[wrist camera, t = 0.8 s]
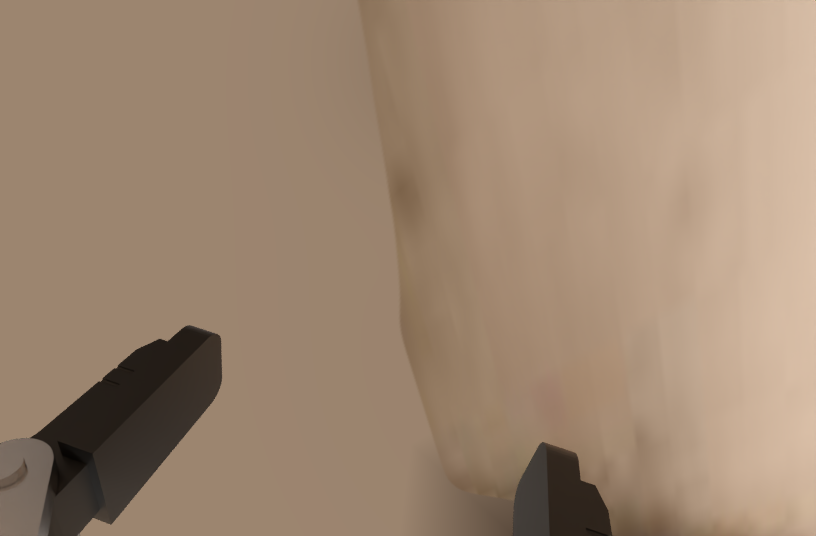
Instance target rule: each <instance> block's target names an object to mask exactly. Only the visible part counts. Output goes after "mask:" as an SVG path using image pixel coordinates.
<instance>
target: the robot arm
mask: <svg viewBox="0 0 816 536" xmlns="http://www.w3.org/2000/svg"><path fill="white" fill-rule="evenodd" d="M221 362H222V360H221V338H220V336H219V335H218V334H215V333H212V332H209V331H206V330H203V329H200V328H197V327H194V326H190V325H189V326H186V327H184V328H183V329H181V330H180V331H179V332H178V333H177V334H176V335H174V336H173V337H172V338H171V339H170V340H169V341H165V340H162V339H158V340H156V341H154V342H152V343H150V344H148V345H145V346H143V347H141V348H139V349H137V350H135V351H134V352H133V353H132V354H131V355H130V356H128V357H127V358H126V359H125V360H124V361H123V362H121V363H120V364H119V365H118V367H117V368H116V369H113V370H112V371H111V372H109V373H108V374H107V375H106V376H105V377H104V378H103V380H102V381H101V382H98V383H96V384H95V385H94V386H93V387H92V388H90V389H89V390H88V391H87V392H86V393H85V394H83V395H82V396H81V397H80V398H79V399H77V400H76V401H75V402H74V403H73V404H72V405H70V406H69V407H68V408H67V409H66V410H65V411H63V412H62V413H61V414H60V415H59V416H57V417H56V418H55V419H54V420H53V421H51V422H50V423H49V424H48V425H47V426H46V427H44V428H43V429H42V430H41V431H40V432H38V433H37V434H36V435H34V436H32V437H31V438H21V439H13V440H9V441H5V442H2V443H0V536H80V532H81V531H82V530H83V529H84V527H85V526H86V525H87V524H88V523H89V522H90V521H91V519H92V518H96V519H98V520H101V521H103V522H106V523H108V524H112V523H113V522H114V521H115V519H116V518H117V517H118V516H119V515H120V513H121V512H122V511H123V510H124V508H125V507H126V506H127V505H128V504H129V503H130V501H131V500H132V499H133V498H134V496H135V495H136V494H137V493H138V491H139V490H140V489H141V488H142V487H143V486H144V484H145V483H146V482H147V481H148V479H149V478H150V477H151V476H152V475H153V473H154V472H155V471H156V470H157V469H158V467H159V466H160V465H161V464H162V463H163V461H164V460H165V459H166V458H167V456H168V455H169V454H170V452H172V450H173V449H174V448H175V447H176V446H177V444H178V443H179V442H180V441H181V439H182V438H183V437H184V436H185V435H186V433H187V432H188V431H189V430H190V429H191V427H192V426H193V425H194V423H195V422H196V421H197V420H198V419H199V418H200V416H201V415H202V414H203V413H204V412H205V410H206V409H207V408H208V407H209V406H210V404H211V403H212V402H213V400H214V399H215V397H216V395H217V393H218V391H219V389H220V385H221V381H222V364H221ZM513 513H514V514H513V536H612V532H611V526H610V519H609V513H608V509H607V507H606V506H605V504H604V502H603V500H602V498H601V496H600V494H599V492H598V490H597V488H596V486H595V485H592V484H589V483H586V482H583V481H581V480H580V470H579V461H578V457H577V455H576V453H574V452H571V451H568V450H565V449H562V448H559V447H556V446H553V445H550V444H547V443H544V442H542V443H541V444H540V445H539V446H538V448H537V450H536V452H535V454H534V456H533V457H532V459H531V461H530V463H529V465H528V467H527V468H526V470H525V472H524V474H523V476H522V478H521V480H520V482H519V484H518V487H517V491H516V495H515V501H514V512H513Z"/></svg>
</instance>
